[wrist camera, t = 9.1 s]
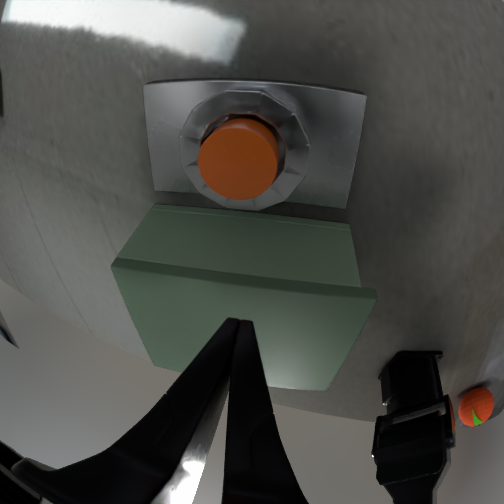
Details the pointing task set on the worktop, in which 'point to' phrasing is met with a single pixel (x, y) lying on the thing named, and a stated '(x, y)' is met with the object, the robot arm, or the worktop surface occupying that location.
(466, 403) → the clementine
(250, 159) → the button
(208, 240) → the fryer
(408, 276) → the worktop surface
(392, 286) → the worktop surface
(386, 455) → the robot arm
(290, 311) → the lid
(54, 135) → the worktop surface
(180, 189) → the control panel
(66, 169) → the worktop surface
